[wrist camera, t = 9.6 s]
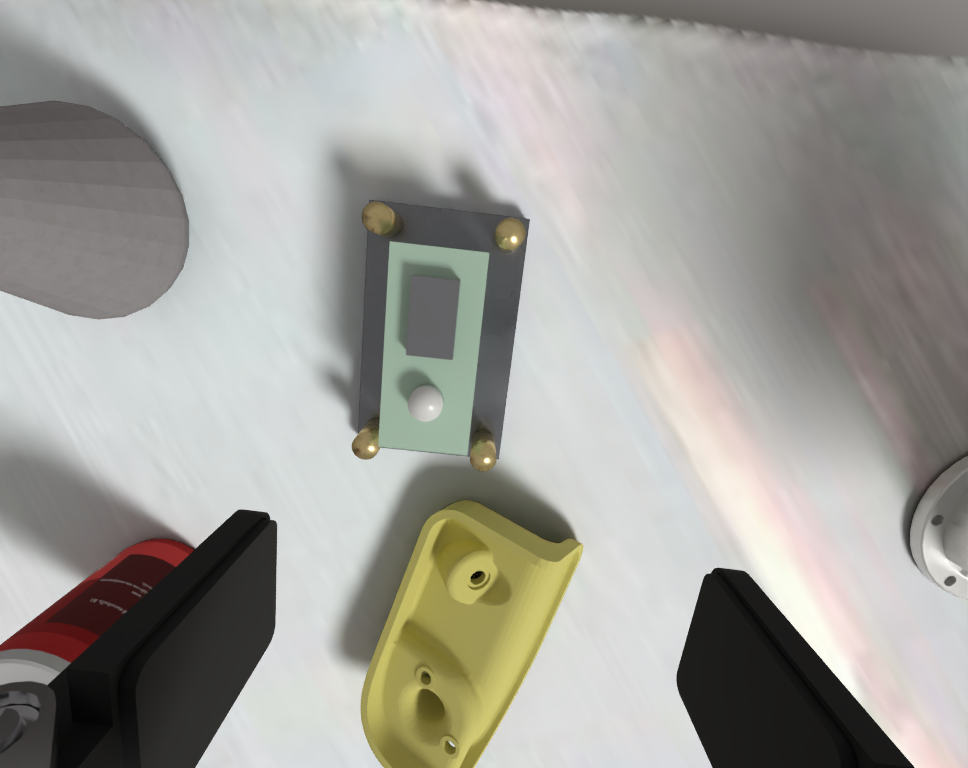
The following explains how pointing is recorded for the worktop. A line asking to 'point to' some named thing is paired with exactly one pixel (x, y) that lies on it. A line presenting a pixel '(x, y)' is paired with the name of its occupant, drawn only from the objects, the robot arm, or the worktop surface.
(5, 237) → the coffee pot
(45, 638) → the canned food
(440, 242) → the chassis
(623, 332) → the worktop surface
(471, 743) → the plastic component
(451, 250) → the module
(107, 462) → the worktop surface
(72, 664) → the robot arm
